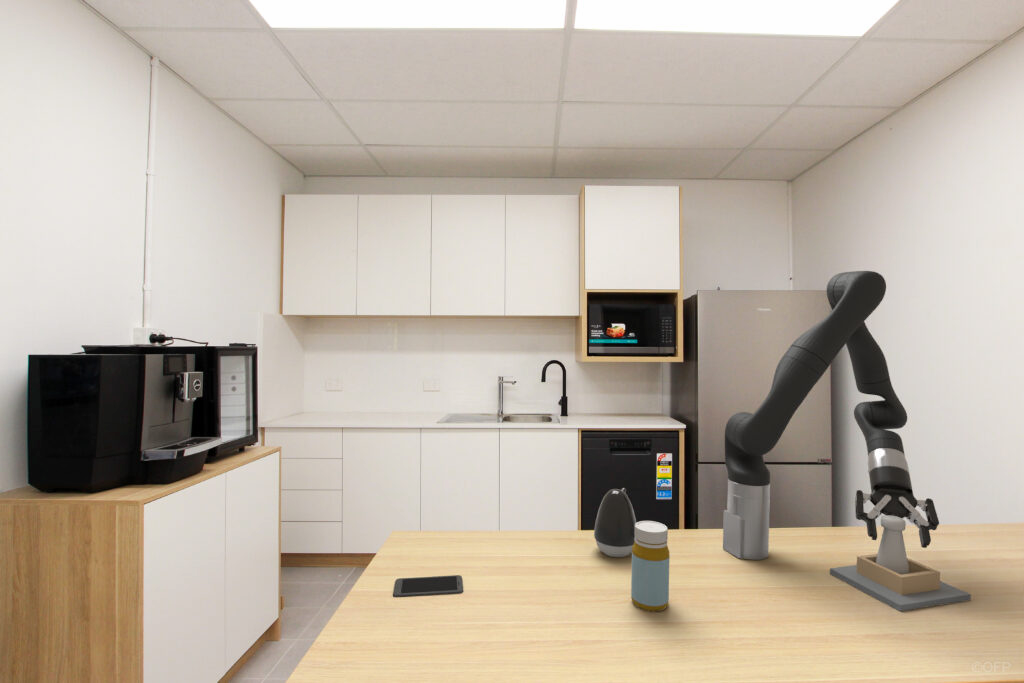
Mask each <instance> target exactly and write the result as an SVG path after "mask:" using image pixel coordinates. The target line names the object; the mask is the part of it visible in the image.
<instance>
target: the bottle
mask: <svg viewBox="0 0 1024 683" xmlns="http://www.w3.org/2000/svg"><path fill="white" fill-rule="evenodd" d="M668 532H669V529H668V526H666V525H665V523H664V524H663V523H661V522H658V521H654V520H640V521H636V524H635V542H634V545H633V547H632V552H631V582H630V583H631V586H630V587H631V588H630V592H631V593H630V594H631V596H630V598H631V601H632V602H633V603H634V606H636V607H637V608H639V609H641V610H643V611H648V612H659V611H662V610H665V608H667V607H668V605H669V596H670V550H669V546H668V534H669V533H668Z"/></svg>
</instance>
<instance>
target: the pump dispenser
mask: <svg viewBox="0 0 1024 683" xmlns="http://www.w3.org/2000/svg"><path fill="white" fill-rule="evenodd" d="M626 492H627V489H626V488H625V487H622V488H621V489H618V488H613V489H612V488H611V489H610V490H608V491H607V492H606V494H605V495H604V496H603V498H602V500H601V503H600V505H599V508H598V511H597V515H596V519H595V523H594V530H593V531H594V532H593V538H594V539H595V543H596V546H597V548H598V549H599V551H601V552H602V553H603V554H605V555H606V556H608V557H612V558H625V557H627V556H629V555H630V554H632V547H633V545H634V542H635V524H636V523H637V519H636V515H635V511H634V508H633V505H632V503H631V500H630V499H629V497H628V494H627V493H626Z"/></svg>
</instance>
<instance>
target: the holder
mask: <svg viewBox="0 0 1024 683" xmlns="http://www.w3.org/2000/svg"><path fill="white" fill-rule="evenodd" d="M877 555H878V553H875V554H866V555H865V554H864V555H859V556H858V555H857V556H856V564H854V565H845V566H838V567H837V566H836V567H830V568H829V574H830V575H831V576H833V577H835V578H837V579H838V580H840V581H842V582H845V583H846V584H848V585H850V586H852V587H853V588H856V589H857V590H859V591H861V592H863V593H865V594H867V595H868V596H871V597H872V598H875V599H876V600H878V601H880V602H882V603H884V604H886V605H887V606H889V607H892V609H895V610H897V611H899V612H905V611H911V610H916V608H918V609H923V608H922V607H924V608H928V607H927V606H931V607H933V606H932V605H937V606H941V605H940V604H943V605H948V603H949V604H955V602H956V603H961V601H962V602H968V601H971V600H972V599H971V597H972V595H971V593H969V592H967V591H964V590H963V589H960V588H958V587H955V586H953V585H951V584H949V583H947V582H944V581H942V580H941V572H940V571H938V570H936V569H934V568H932V567H930V566H927V565H924V564H922V563H920V562H917V561H915V560H913V559H911V558H907V561H908V567H909V573H908V574H902V575H901V574H898V573H896V572H894V571H892V570H890V569H888V568H885V567H883V566H881V565H879V564H877V563H876V559H877ZM967 600H968V601H967Z"/></svg>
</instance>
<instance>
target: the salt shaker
mask: <svg viewBox="0 0 1024 683" xmlns="http://www.w3.org/2000/svg"><path fill="white" fill-rule="evenodd" d="M880 517H881V518H880V526H881V527H882V528H883V530H882V534H881V539H880V542H879V547H878V551H877V554H878V555H877V559H876V563H877V564H879V565H881V566H883V567H885V568H888V569H890V570H892V571H894V572H896V573H898V574H901V575H902V574H908V573H909V567H908V561H907V557H908V556H907V551H906V545H905V540H904V535H903V532H904V531H905V530H906V526H907V524H906V523H907V522H906V521H905V520H904V518H900V517H897V516H892V515H882V516H880Z"/></svg>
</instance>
